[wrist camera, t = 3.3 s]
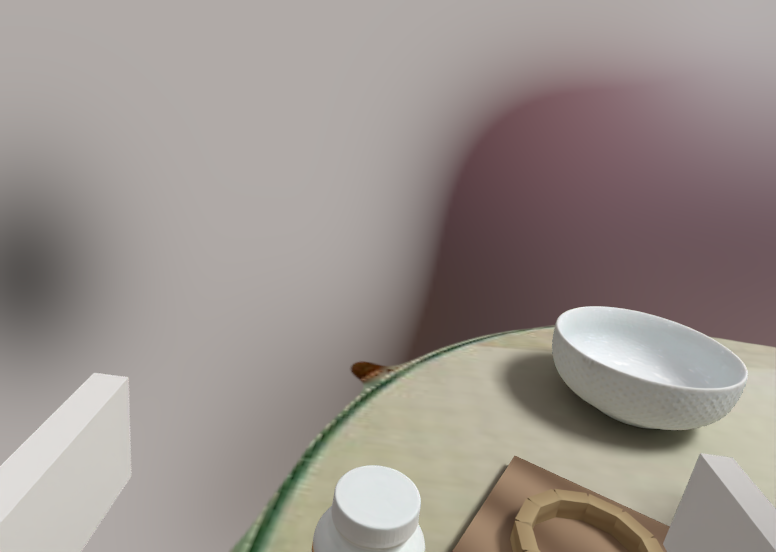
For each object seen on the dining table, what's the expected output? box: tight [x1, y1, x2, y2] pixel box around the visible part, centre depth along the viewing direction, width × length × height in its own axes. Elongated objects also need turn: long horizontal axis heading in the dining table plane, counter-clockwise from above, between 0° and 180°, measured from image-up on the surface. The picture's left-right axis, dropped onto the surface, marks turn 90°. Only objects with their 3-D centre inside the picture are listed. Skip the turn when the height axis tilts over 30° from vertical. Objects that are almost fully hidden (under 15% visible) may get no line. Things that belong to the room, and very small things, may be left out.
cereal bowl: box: [552, 306, 748, 430], centre depth 54 cm, size 17×17×7 cm
